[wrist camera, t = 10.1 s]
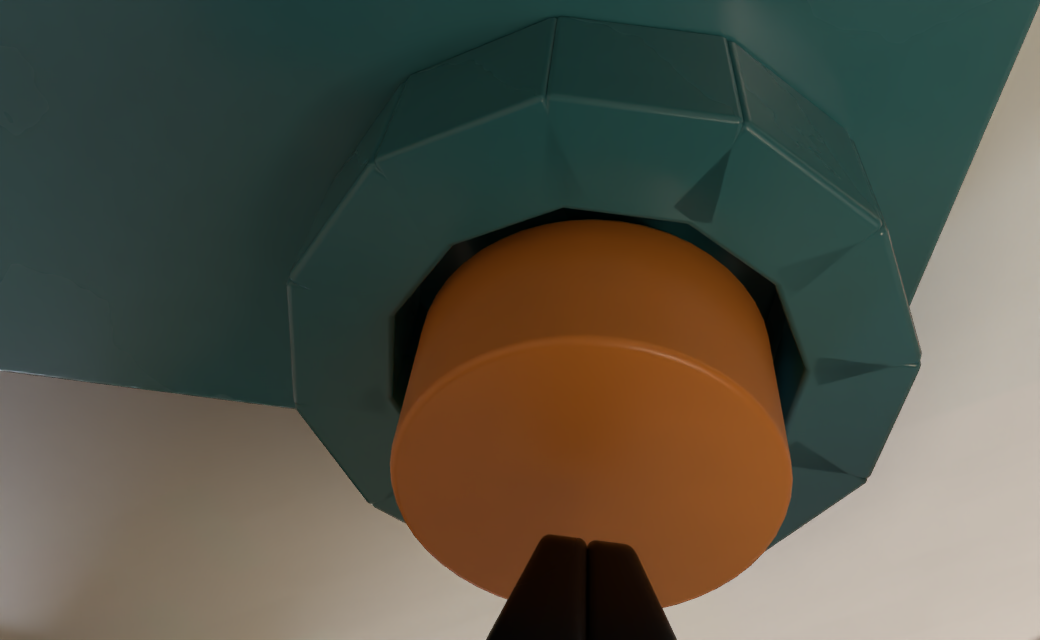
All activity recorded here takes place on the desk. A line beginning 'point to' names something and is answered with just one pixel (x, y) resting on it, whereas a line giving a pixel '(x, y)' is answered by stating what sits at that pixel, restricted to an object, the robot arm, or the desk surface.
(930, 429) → the desk surface
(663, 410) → the orange button
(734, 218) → the teal button platform
